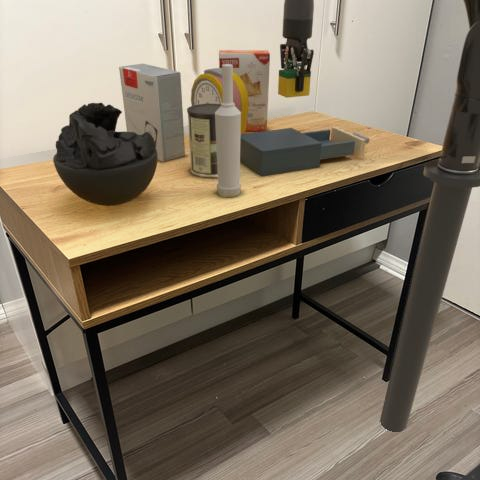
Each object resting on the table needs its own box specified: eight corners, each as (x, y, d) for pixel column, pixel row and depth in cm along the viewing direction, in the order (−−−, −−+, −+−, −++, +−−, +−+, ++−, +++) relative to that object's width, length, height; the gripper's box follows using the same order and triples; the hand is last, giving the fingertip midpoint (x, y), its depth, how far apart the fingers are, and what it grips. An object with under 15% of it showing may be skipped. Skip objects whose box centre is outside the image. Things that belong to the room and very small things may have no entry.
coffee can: (234, 164, 125) (234, 103, 117) (231, 178, 117) (231, 114, 109) (193, 163, 126) (190, 102, 118) (187, 177, 118) (183, 113, 109)
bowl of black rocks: (134, 178, 117) (123, 90, 106) (179, 206, 104) (172, 109, 93) (49, 198, 107) (27, 103, 96) (86, 231, 94) (66, 126, 83)
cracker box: (220, 132, 149) (218, 52, 136) (219, 126, 153) (218, 49, 141) (267, 132, 149) (270, 52, 137) (266, 126, 154) (268, 49, 142)
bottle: (245, 194, 109) (246, 65, 94) (224, 199, 107) (221, 68, 92) (233, 187, 113) (232, 62, 98) (212, 191, 110) (208, 64, 96)
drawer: (347, 139, 139) (348, 124, 137) (377, 153, 129) (379, 137, 127) (286, 147, 133) (287, 132, 131) (313, 163, 123) (315, 147, 121)
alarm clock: (191, 138, 144) (187, 66, 133) (213, 132, 148) (211, 63, 138) (225, 149, 135) (224, 74, 124) (248, 143, 139) (249, 70, 129)
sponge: (300, 91, 141) (301, 68, 138) (309, 95, 137) (311, 71, 134) (277, 94, 139) (278, 70, 135) (286, 97, 135) (287, 73, 131)
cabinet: (290, 150, 135) (291, 127, 131) (319, 167, 124) (321, 142, 120) (235, 157, 129) (235, 134, 126) (261, 176, 118) (262, 151, 115)
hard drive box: (127, 149, 135) (117, 66, 124) (151, 143, 140) (143, 62, 128) (162, 162, 126) (155, 74, 115) (186, 156, 130) (181, 70, 119)
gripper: (326, 18, 123) (319, 93, 133) (297, 13, 134) (293, 83, 144) (299, 19, 121) (294, 96, 131) (271, 14, 131) (269, 85, 141)
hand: (293, 89), depth 137 cm, fingers closed on sponge, 5 cm apart
